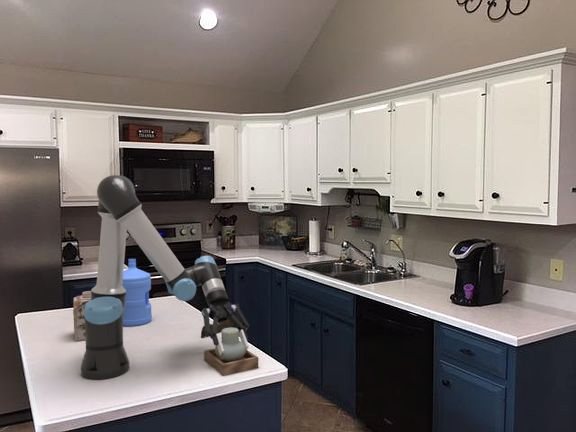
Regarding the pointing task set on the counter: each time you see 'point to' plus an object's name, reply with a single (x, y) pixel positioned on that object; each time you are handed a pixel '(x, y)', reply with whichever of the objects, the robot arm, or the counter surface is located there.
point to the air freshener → (231, 345)
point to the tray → (231, 362)
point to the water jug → (136, 295)
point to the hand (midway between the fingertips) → (234, 350)
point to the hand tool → (219, 326)
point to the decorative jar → (80, 314)
